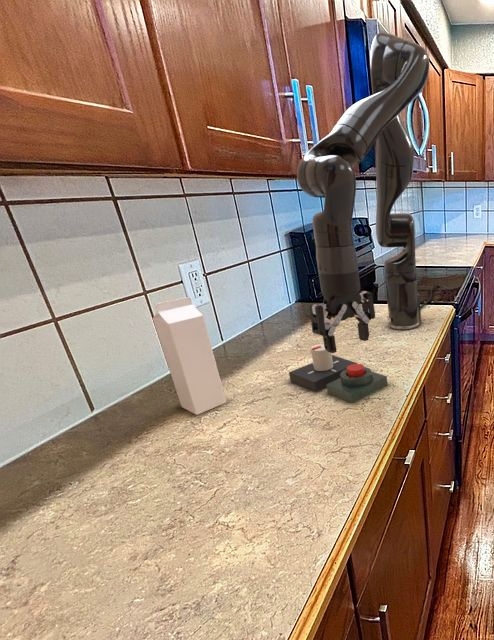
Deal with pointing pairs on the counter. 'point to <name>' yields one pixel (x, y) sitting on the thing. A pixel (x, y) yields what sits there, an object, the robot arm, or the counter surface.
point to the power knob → (321, 358)
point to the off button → (355, 370)
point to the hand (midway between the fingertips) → (348, 345)
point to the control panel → (319, 374)
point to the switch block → (356, 385)
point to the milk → (189, 355)
